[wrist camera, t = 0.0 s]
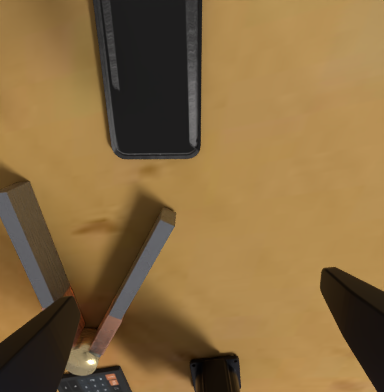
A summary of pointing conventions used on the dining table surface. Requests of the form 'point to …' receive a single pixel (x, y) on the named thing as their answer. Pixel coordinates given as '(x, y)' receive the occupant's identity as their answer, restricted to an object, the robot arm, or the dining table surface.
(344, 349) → the dining table surface
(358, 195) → the dining table surface
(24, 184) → the bar
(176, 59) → the phone
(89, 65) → the dining table surface
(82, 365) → the arm
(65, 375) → the calculator
